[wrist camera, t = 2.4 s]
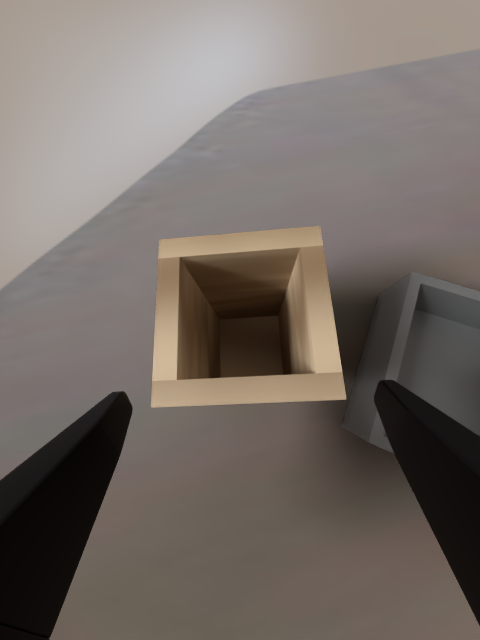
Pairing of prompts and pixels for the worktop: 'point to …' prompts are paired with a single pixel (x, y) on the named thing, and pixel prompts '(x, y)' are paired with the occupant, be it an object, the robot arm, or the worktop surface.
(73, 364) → the worktop surface
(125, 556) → the worktop surface
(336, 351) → the tall pine crate
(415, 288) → the grey square tray
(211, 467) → the worktop surface
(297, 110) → the worktop surface
